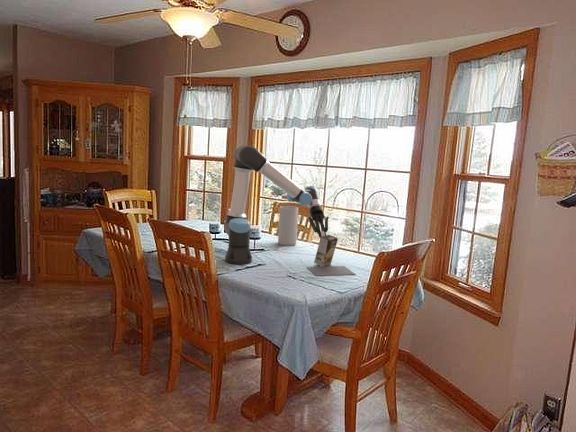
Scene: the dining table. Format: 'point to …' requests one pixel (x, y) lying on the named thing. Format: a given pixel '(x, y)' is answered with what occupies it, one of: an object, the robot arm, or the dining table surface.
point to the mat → (330, 271)
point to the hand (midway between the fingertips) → (324, 241)
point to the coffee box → (325, 250)
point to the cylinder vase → (288, 225)
